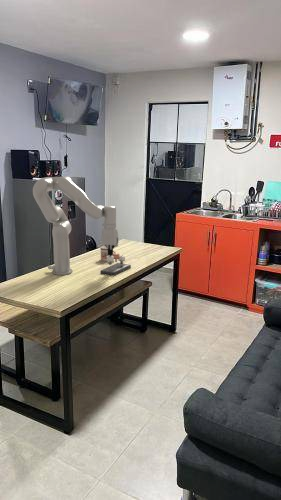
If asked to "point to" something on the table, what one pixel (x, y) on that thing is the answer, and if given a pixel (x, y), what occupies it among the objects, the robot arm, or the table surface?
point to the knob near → (110, 259)
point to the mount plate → (115, 269)
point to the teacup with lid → (104, 253)
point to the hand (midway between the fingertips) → (110, 255)
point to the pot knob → (116, 256)
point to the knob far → (121, 259)
